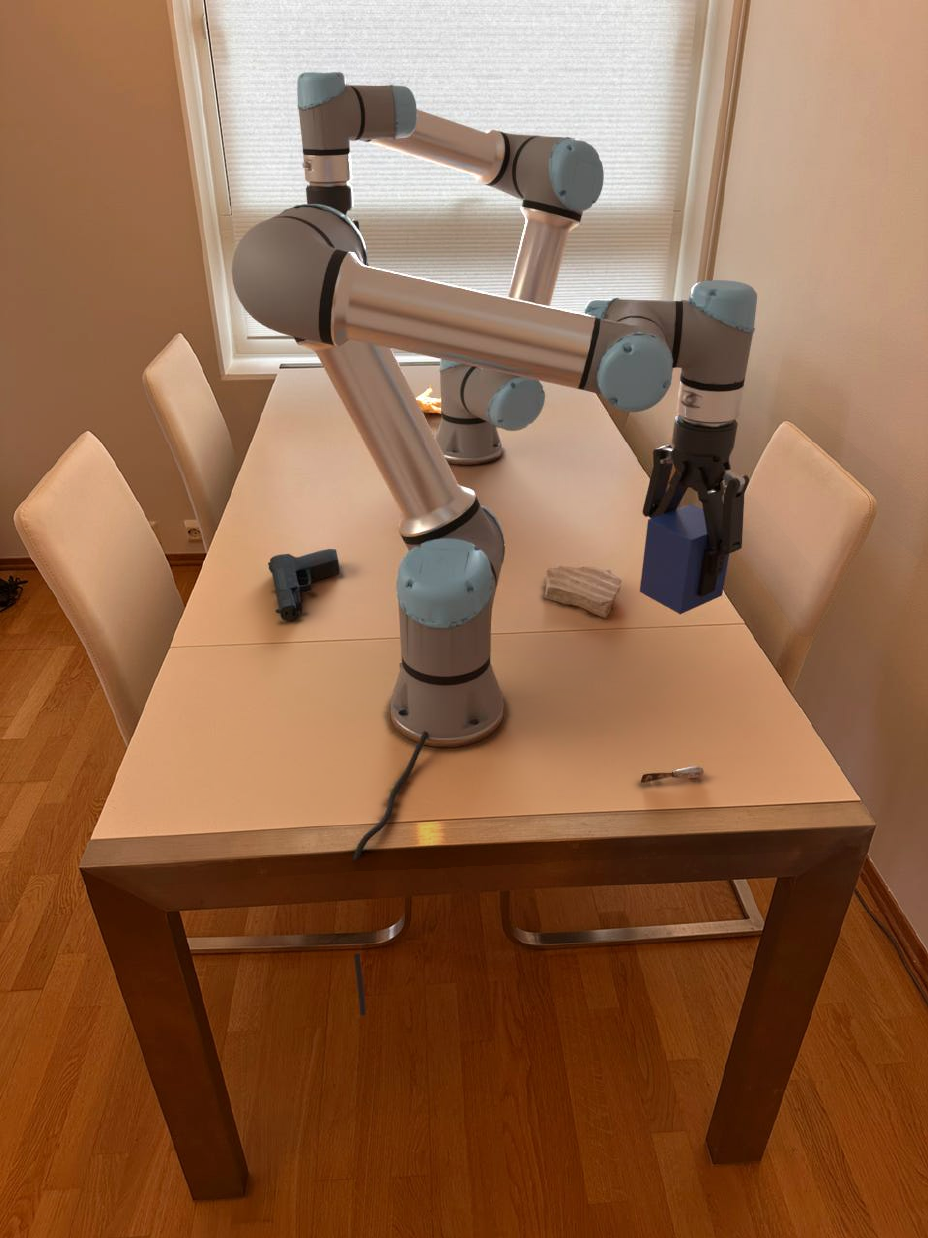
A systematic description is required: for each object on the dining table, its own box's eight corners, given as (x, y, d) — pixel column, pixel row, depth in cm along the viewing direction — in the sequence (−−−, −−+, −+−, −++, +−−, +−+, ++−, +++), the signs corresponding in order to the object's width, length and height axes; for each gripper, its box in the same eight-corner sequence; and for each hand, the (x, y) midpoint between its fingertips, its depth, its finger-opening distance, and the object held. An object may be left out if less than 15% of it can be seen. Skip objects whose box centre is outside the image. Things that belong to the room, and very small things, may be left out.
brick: (681, 574, 127) (691, 503, 121) (722, 595, 121) (735, 522, 116) (639, 591, 122) (647, 519, 117) (680, 614, 117) (691, 540, 111)
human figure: (395, 413, 223) (394, 398, 221) (438, 390, 237) (438, 375, 235) (462, 429, 215) (462, 413, 213) (502, 404, 229) (503, 388, 227)
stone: (626, 584, 150) (627, 571, 148) (608, 619, 140) (609, 605, 139) (553, 571, 154) (553, 558, 153) (530, 604, 145) (530, 590, 143)
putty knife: (703, 777, 109) (705, 767, 109) (642, 788, 108) (644, 777, 107) (700, 772, 110) (702, 762, 109) (639, 782, 109) (640, 771, 108)
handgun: (352, 612, 143) (277, 623, 140) (336, 561, 157) (267, 570, 155) (351, 595, 141) (274, 606, 139) (334, 545, 156) (265, 554, 153)
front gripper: (625, 400, 114) (609, 559, 126) (754, 448, 100) (723, 621, 112) (665, 390, 117) (647, 544, 130) (796, 434, 104) (761, 603, 116)
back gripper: (273, 178, 151) (287, 307, 162) (346, 192, 134) (356, 336, 145) (313, 175, 155) (324, 301, 166) (389, 188, 138) (395, 329, 149)
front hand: (682, 579), depth 121 cm, fingers closed on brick, 7 cm apart
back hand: (339, 318), depth 156 cm, fingers open, 13 cm apart
